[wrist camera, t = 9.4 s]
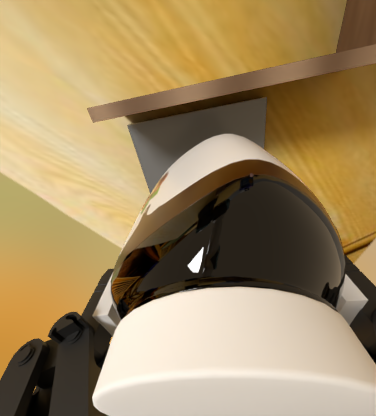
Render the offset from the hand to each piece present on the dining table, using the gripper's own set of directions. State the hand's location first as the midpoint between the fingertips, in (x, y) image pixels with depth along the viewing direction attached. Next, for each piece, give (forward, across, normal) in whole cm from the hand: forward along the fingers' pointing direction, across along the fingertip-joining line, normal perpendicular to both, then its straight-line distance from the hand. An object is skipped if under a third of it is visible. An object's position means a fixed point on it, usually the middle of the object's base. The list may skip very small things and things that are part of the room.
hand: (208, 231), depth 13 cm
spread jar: (+2, 0, 0) cm, 2 cm away
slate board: (+12, 0, 0) cm, 12 cm away
